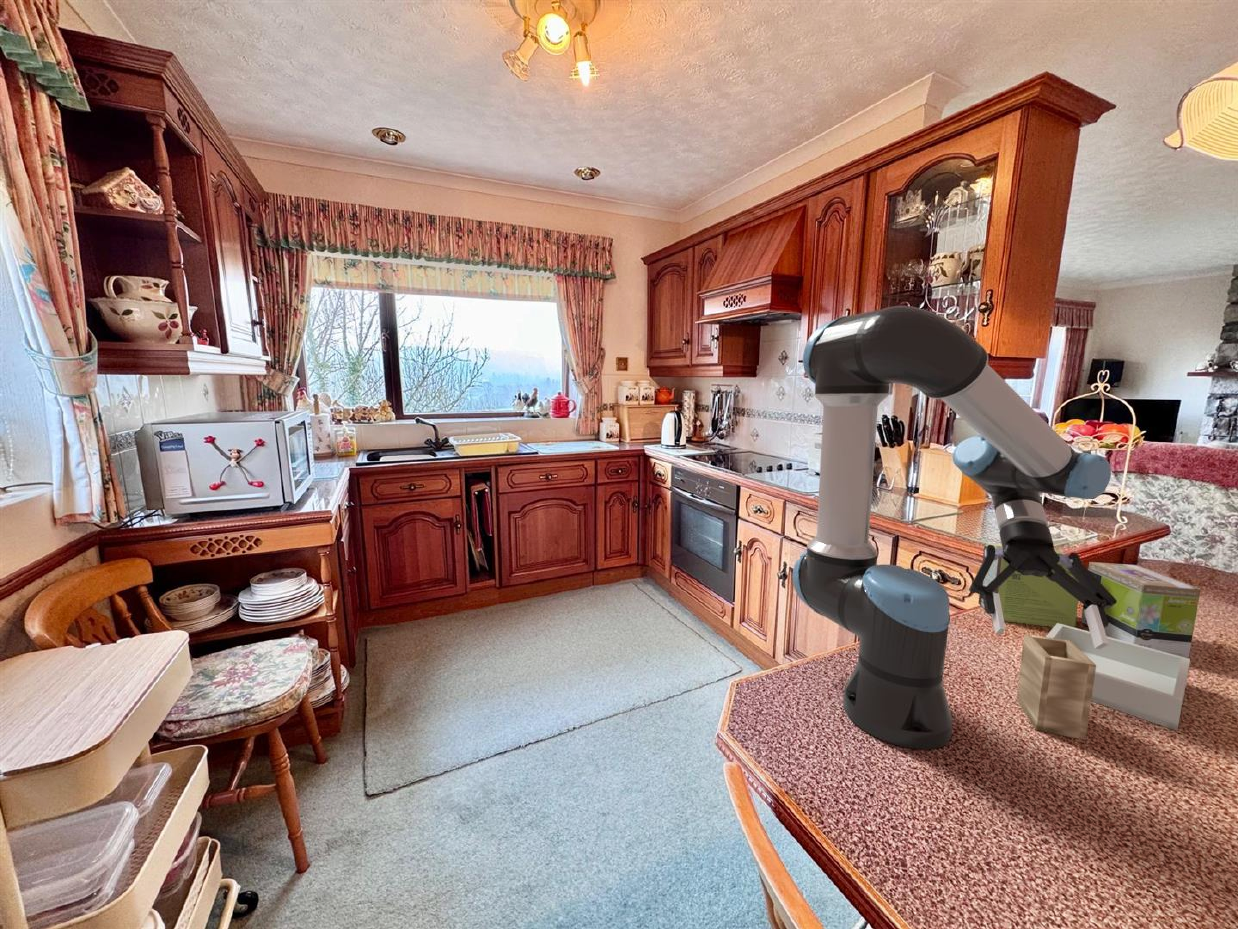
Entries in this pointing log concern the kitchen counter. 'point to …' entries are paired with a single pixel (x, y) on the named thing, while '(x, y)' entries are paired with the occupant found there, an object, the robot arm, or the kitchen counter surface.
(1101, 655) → the tray
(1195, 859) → the kitchen counter surface
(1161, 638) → the tea box
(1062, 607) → the protein box
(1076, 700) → the box
